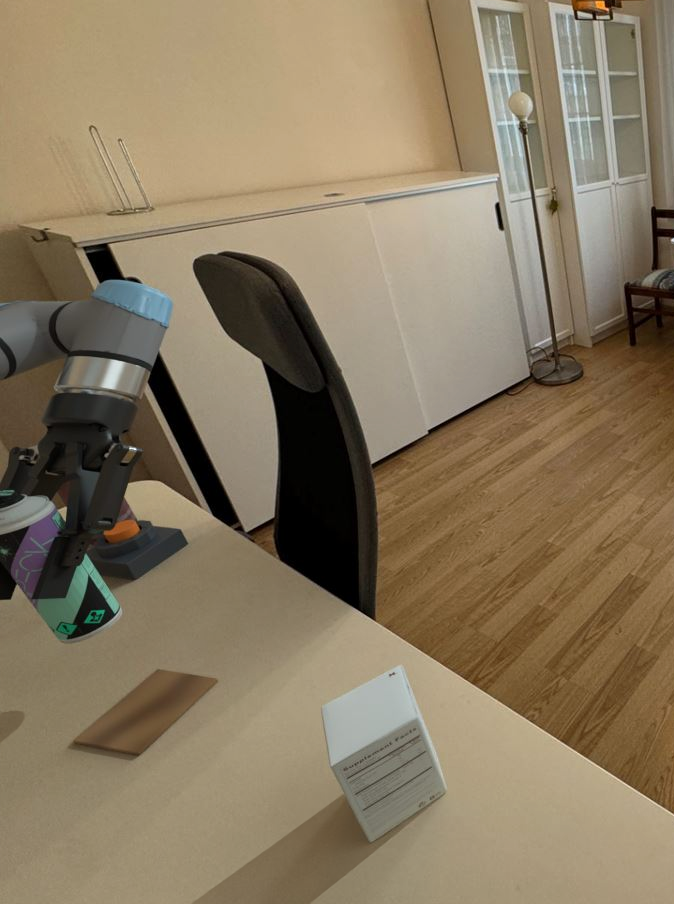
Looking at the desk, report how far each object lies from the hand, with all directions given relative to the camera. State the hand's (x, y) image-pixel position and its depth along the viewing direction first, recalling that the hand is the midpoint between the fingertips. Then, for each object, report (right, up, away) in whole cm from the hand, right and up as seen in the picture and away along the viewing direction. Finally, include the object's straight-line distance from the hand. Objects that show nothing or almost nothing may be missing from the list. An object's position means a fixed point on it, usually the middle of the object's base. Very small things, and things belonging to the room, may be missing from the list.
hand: (20, 599), depth 61 cm
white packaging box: (+44, -19, -3) cm, 48 cm away
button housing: (-17, -5, +29) cm, 34 cm away
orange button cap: (-17, -1, +27) cm, 32 cm away
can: (-26, -4, +34) cm, 43 cm away
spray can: (0, -6, +7) cm, 9 cm away
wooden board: (+9, -16, +5) cm, 19 cm away
